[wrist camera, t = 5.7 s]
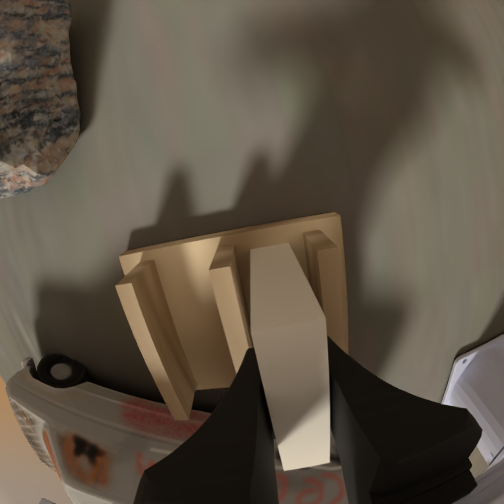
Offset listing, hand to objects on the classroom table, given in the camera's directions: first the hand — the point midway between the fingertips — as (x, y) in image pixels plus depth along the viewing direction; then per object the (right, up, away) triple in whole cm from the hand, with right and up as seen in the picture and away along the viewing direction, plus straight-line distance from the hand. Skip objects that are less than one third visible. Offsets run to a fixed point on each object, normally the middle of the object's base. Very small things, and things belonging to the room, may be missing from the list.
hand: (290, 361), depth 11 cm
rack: (-2, +1, +5) cm, 5 cm away
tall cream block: (0, +1, +4) cm, 4 cm away
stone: (-15, +13, +1) cm, 21 cm away
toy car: (-7, -10, +8) cm, 15 cm away
